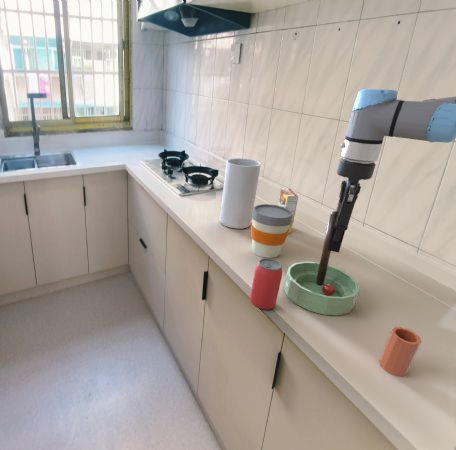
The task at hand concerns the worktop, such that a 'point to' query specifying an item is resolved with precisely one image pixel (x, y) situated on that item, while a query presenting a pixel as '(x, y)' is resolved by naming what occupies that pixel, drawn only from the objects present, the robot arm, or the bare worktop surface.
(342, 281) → the bowl
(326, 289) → the bead
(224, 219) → the cylinder vase
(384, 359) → the crock
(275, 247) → the reusable coffee cup
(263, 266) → the beer can
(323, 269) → the stirring stick
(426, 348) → the worktop surface
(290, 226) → the candy box
